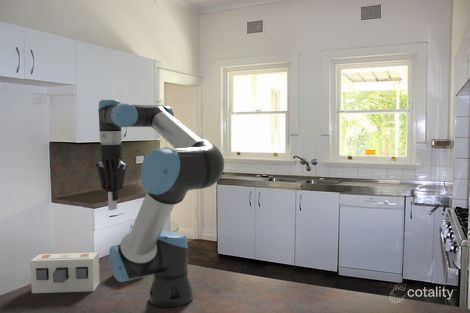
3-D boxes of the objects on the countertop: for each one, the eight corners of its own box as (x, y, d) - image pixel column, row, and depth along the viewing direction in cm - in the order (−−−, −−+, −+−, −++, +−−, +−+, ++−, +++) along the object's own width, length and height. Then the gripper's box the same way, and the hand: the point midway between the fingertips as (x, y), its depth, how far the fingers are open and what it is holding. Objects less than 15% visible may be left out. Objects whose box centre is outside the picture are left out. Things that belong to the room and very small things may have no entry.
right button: (86, 278, 146) (86, 268, 146) (76, 278, 146) (75, 269, 145) (89, 274, 150) (89, 265, 149) (79, 274, 149) (79, 265, 149)
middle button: (63, 282, 142) (63, 272, 142) (53, 282, 142) (52, 272, 142) (67, 278, 146) (67, 268, 146) (57, 278, 146) (56, 268, 146)
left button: (46, 279, 145) (46, 269, 145) (36, 280, 145) (35, 270, 144) (50, 275, 149) (50, 266, 149) (40, 275, 149) (40, 266, 148)
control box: (93, 291, 147) (92, 258, 146) (31, 293, 146) (30, 259, 145) (99, 282, 155) (98, 251, 154) (40, 284, 154) (39, 253, 153)
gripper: (89, 144, 142) (91, 209, 144) (117, 144, 137) (119, 213, 138) (104, 143, 149) (106, 206, 151) (132, 143, 143) (133, 209, 145)
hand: (112, 209), depth 144 cm, fingers closed
